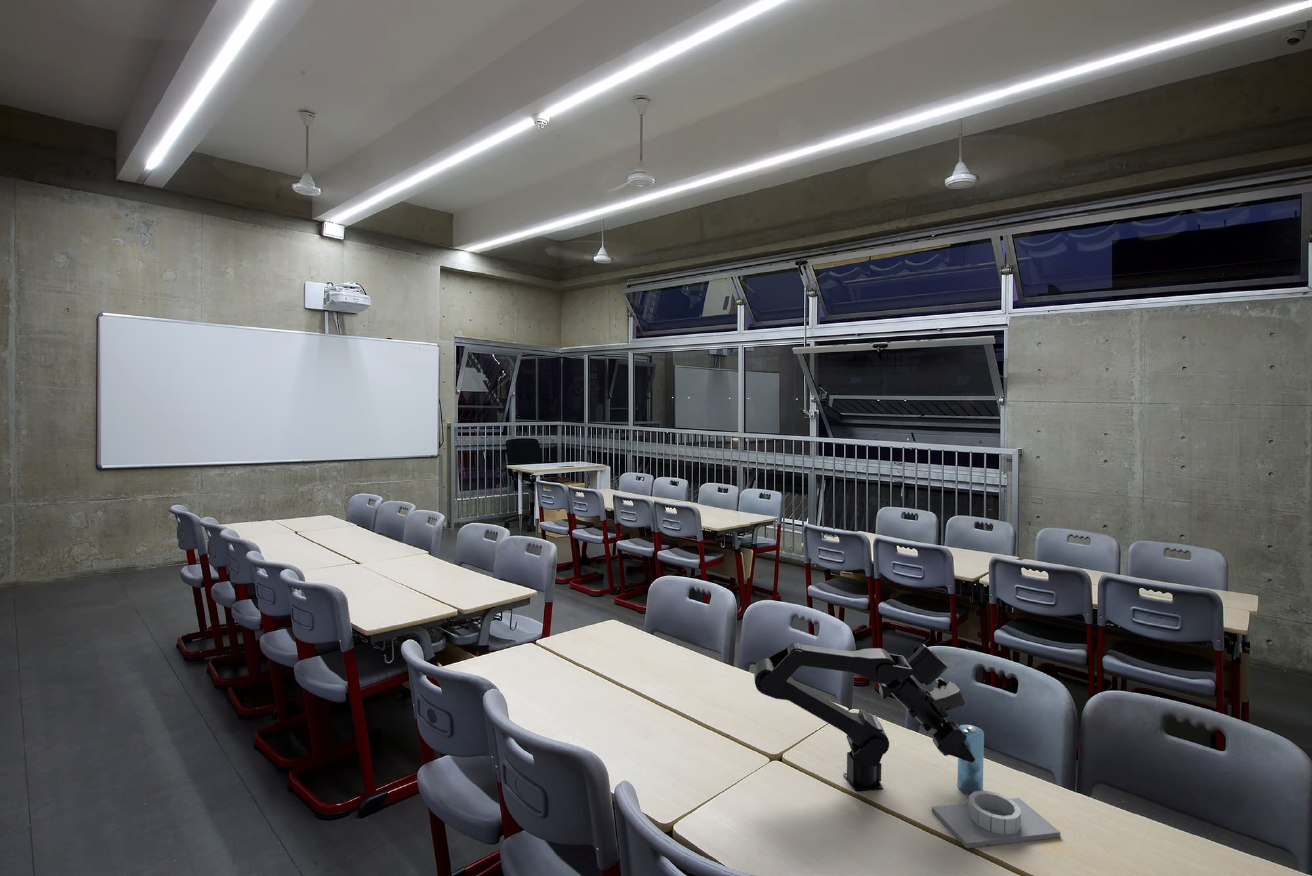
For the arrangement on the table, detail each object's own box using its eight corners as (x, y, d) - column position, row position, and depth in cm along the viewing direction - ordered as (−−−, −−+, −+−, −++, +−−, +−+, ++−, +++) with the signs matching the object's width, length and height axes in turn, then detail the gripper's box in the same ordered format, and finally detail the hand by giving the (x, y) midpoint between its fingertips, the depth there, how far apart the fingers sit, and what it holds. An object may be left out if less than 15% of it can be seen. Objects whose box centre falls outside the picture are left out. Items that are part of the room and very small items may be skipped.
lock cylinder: (962, 794, 133) (963, 732, 133) (953, 781, 138) (954, 721, 138) (986, 796, 133) (988, 734, 132) (977, 782, 138) (978, 722, 137)
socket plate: (966, 848, 117) (967, 827, 117) (931, 811, 128) (932, 792, 128) (1060, 837, 120) (1060, 817, 120) (1018, 802, 131) (1019, 783, 131)
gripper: (956, 692, 126) (1012, 747, 125) (926, 656, 145) (975, 705, 144) (916, 728, 127) (971, 783, 127) (891, 688, 146) (939, 736, 145)
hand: (965, 749), depth 135 cm, fingers open, 9 cm apart
